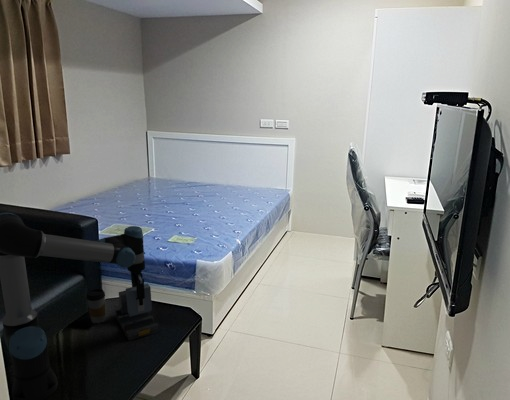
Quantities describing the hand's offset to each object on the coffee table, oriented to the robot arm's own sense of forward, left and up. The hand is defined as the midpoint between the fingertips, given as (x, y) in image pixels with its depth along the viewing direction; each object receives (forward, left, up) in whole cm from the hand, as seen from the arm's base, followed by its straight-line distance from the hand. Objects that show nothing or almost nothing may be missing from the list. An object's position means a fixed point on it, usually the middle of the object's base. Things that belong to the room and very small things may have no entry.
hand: (139, 308), depth 190 cm
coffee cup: (-15, +19, -12) cm, 27 cm away
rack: (0, +7, -12) cm, 14 cm away
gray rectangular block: (0, 0, -2) cm, 2 cm away
